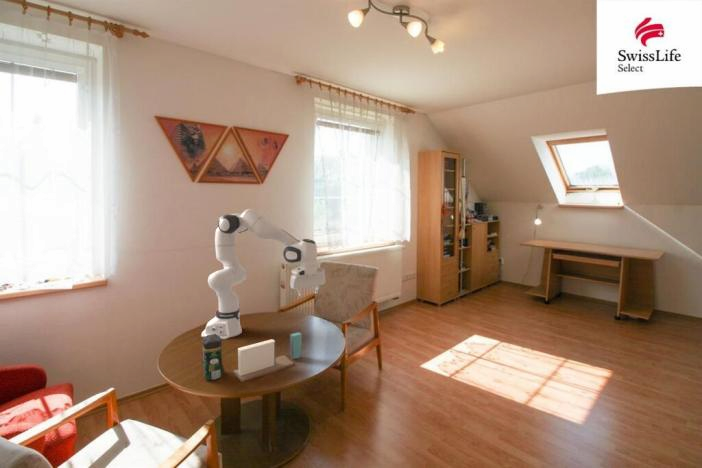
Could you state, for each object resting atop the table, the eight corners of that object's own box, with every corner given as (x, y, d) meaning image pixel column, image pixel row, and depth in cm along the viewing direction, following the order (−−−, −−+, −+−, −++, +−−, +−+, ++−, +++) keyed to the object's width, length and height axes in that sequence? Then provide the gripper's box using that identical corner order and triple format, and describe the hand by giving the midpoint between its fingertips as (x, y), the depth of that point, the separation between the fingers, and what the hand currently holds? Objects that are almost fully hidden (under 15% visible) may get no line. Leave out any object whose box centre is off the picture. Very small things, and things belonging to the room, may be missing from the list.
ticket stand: (241, 382, 153) (240, 354, 151) (233, 372, 161) (233, 345, 159) (293, 365, 169) (293, 339, 167) (284, 357, 176) (284, 332, 175)
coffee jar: (203, 372, 160) (201, 334, 158) (221, 368, 164) (220, 331, 161) (204, 382, 152) (203, 342, 149) (223, 378, 155) (222, 339, 153)
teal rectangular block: (292, 358, 172) (292, 336, 170) (289, 356, 174) (289, 334, 173) (301, 356, 175) (301, 334, 174) (298, 353, 177) (298, 332, 176)
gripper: (321, 266, 193) (321, 290, 194) (288, 270, 180) (288, 296, 182) (328, 268, 188) (327, 293, 190) (294, 273, 175) (294, 299, 177)
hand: (308, 294), depth 186 cm, fingers open, 8 cm apart
